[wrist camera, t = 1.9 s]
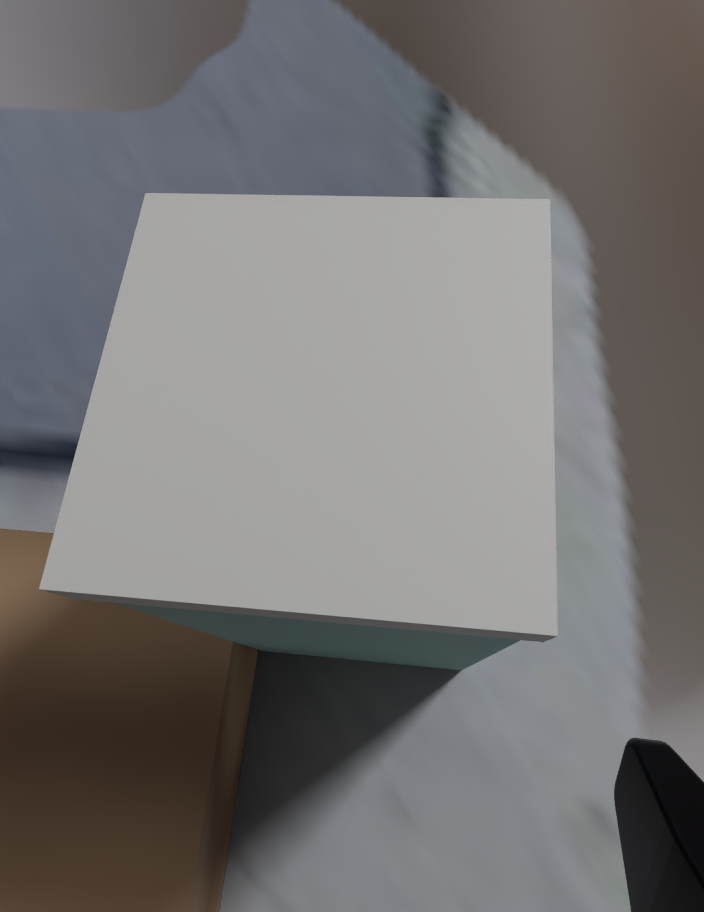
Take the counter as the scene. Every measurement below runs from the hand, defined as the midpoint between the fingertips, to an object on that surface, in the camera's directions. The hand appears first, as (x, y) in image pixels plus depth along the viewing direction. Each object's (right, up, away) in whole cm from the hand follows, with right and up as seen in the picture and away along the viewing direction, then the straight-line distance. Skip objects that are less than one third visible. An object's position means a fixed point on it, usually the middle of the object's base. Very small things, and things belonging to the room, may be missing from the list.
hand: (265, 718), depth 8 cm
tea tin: (+2, 0, +12) cm, 12 cm away
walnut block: (-7, -5, +11) cm, 14 cm away
